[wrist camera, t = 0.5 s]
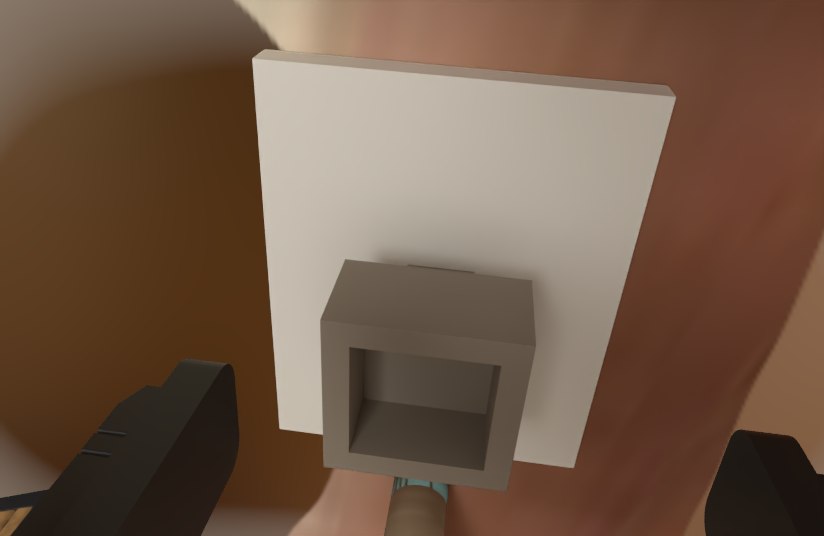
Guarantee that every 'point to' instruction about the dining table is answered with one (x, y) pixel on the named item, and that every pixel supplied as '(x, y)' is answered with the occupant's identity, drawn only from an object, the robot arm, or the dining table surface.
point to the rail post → (417, 508)
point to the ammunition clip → (17, 510)
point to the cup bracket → (447, 255)
